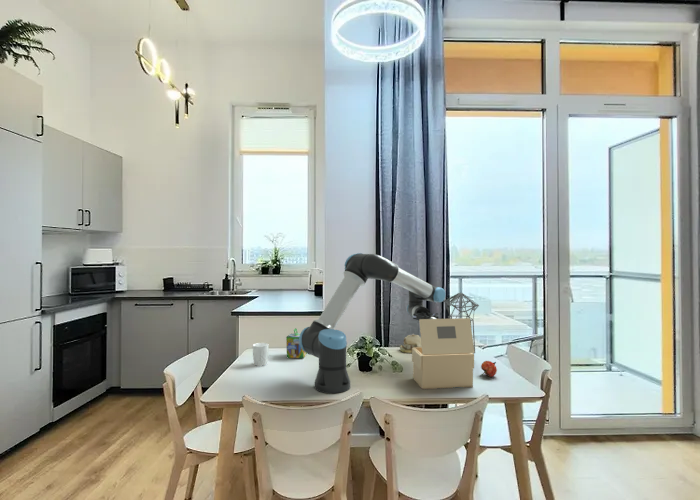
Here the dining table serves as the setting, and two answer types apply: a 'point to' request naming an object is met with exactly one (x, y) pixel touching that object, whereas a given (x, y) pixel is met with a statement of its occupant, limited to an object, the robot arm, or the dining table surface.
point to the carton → (442, 369)
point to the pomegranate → (489, 368)
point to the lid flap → (446, 336)
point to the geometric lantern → (462, 308)
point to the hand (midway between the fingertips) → (436, 322)
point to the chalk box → (294, 346)
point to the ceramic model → (410, 343)
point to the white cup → (260, 353)
